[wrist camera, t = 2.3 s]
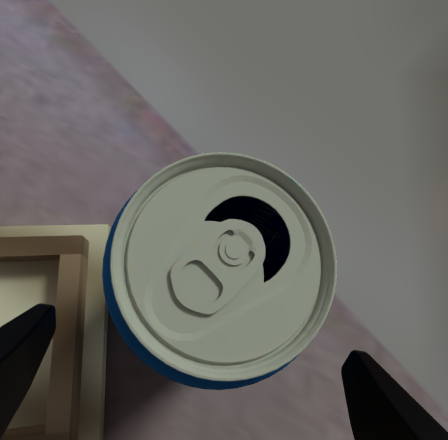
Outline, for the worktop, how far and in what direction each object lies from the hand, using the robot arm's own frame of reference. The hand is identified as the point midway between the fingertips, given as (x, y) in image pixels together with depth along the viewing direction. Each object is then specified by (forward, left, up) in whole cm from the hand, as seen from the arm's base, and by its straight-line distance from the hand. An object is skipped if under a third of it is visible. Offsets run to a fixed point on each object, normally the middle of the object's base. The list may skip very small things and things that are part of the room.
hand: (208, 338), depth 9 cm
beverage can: (+2, 0, -10) cm, 10 cm away
